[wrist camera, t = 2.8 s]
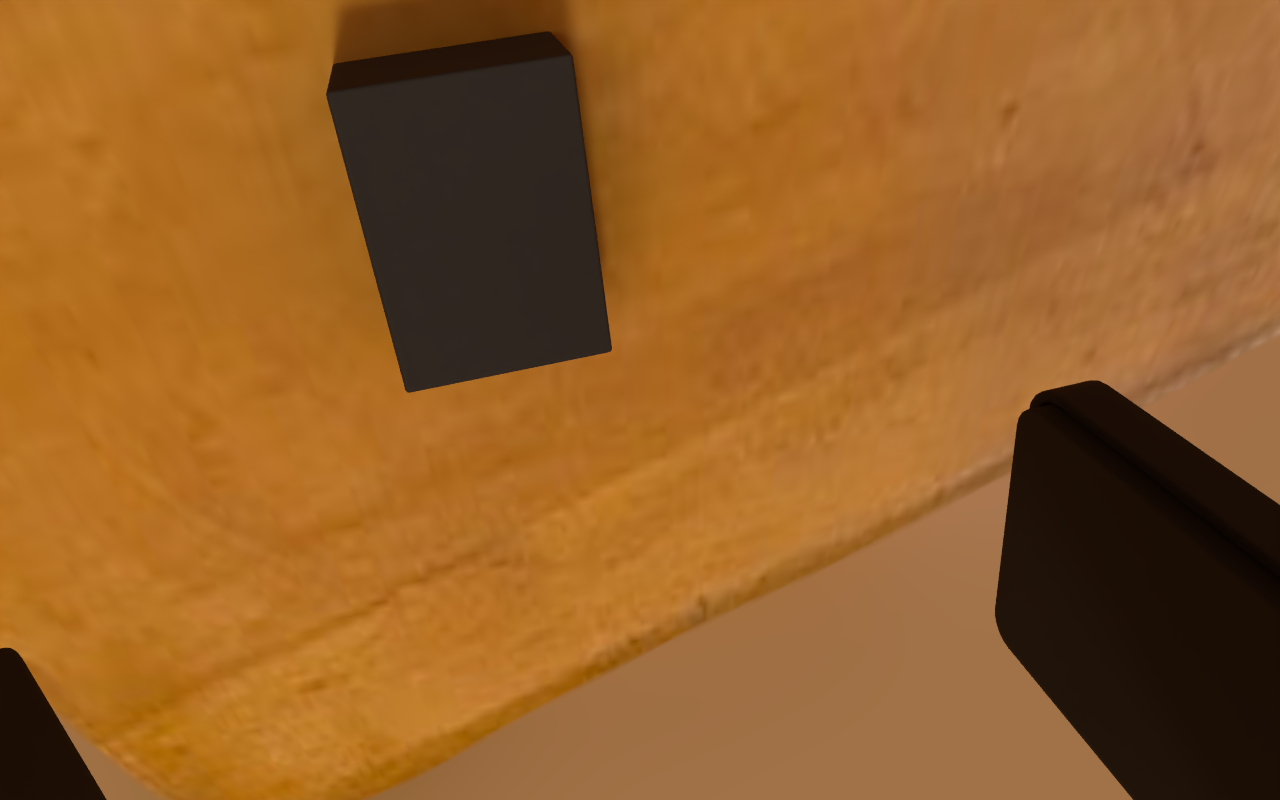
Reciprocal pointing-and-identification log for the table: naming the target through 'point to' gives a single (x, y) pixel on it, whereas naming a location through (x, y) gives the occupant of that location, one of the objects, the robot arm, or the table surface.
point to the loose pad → (474, 205)
